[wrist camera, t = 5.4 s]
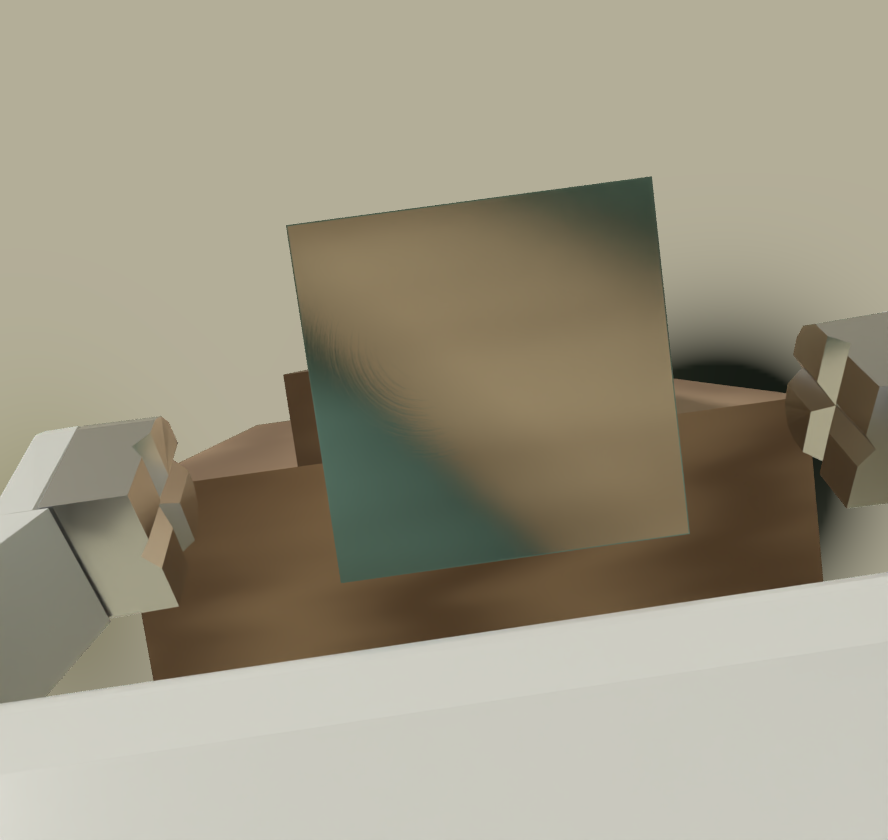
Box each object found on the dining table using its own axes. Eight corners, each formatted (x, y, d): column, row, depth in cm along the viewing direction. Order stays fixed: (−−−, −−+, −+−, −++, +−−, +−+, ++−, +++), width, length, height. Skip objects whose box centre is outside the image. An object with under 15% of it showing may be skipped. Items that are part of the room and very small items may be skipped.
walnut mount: (699, 971, 33) (626, 323, 31) (898, 1420, 19) (798, 304, 17) (353, 1024, 33) (248, 374, 30) (304, 1517, 19) (102, 399, 16)
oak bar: (401, 403, 32) (389, 317, 31) (486, 391, 32) (475, 305, 31) (341, 583, 8) (286, 225, 7) (689, 533, 8) (652, 176, 7)
